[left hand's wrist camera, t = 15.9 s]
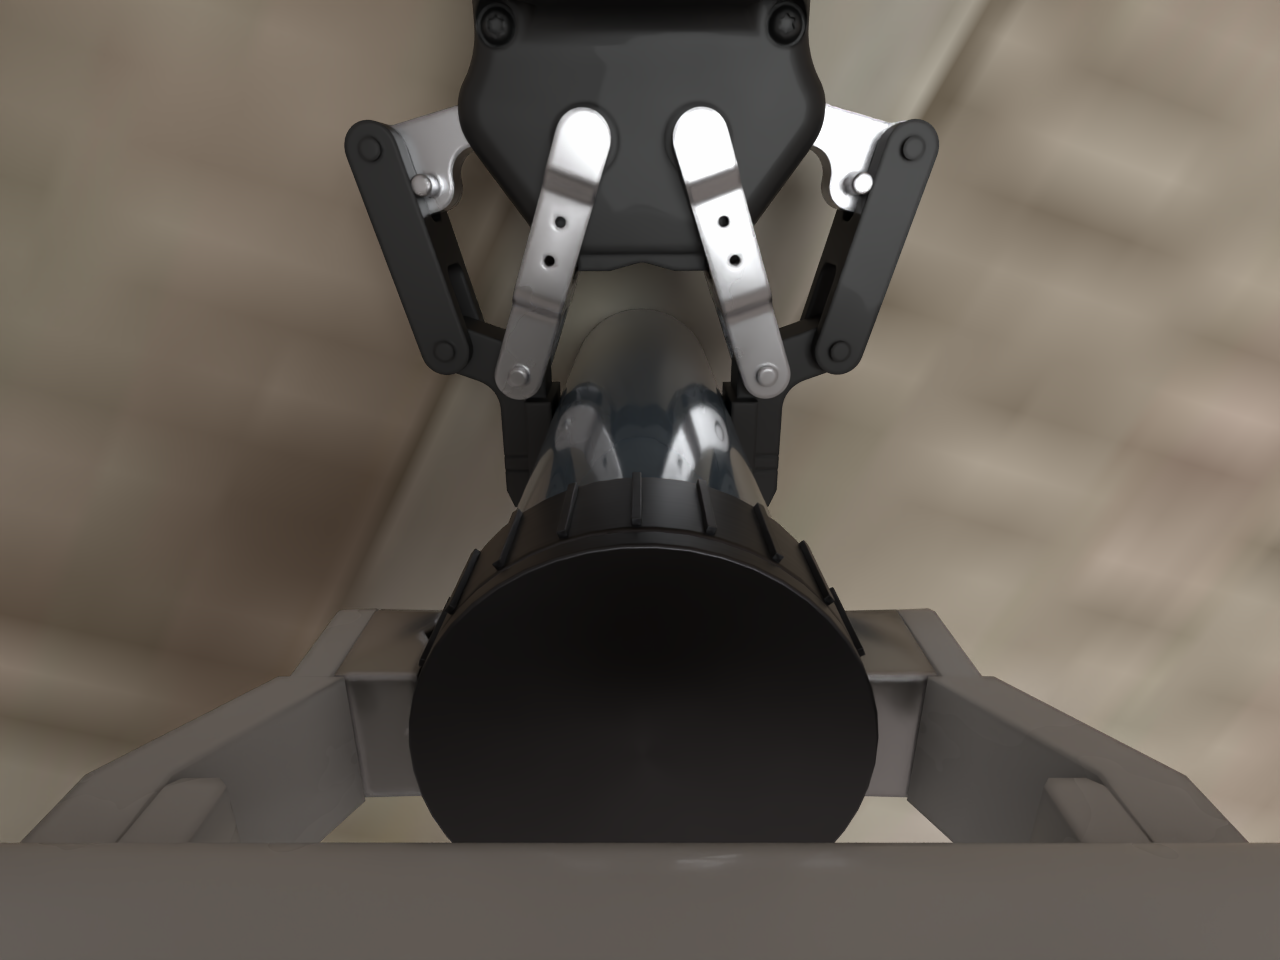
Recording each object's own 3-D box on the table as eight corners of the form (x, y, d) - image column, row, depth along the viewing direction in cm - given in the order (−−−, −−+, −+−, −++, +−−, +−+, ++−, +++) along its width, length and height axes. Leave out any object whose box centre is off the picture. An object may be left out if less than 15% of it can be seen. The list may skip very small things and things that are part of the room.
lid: (453, 799, 11) (416, 920, 9) (433, 459, 9) (380, 527, 7) (812, 811, 11) (846, 934, 9) (869, 478, 9) (927, 548, 7)
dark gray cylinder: (547, 365, 26) (368, 693, 9) (652, 280, 25) (680, 464, 8) (631, 463, 27) (615, 914, 10) (734, 386, 26) (910, 744, 9)
